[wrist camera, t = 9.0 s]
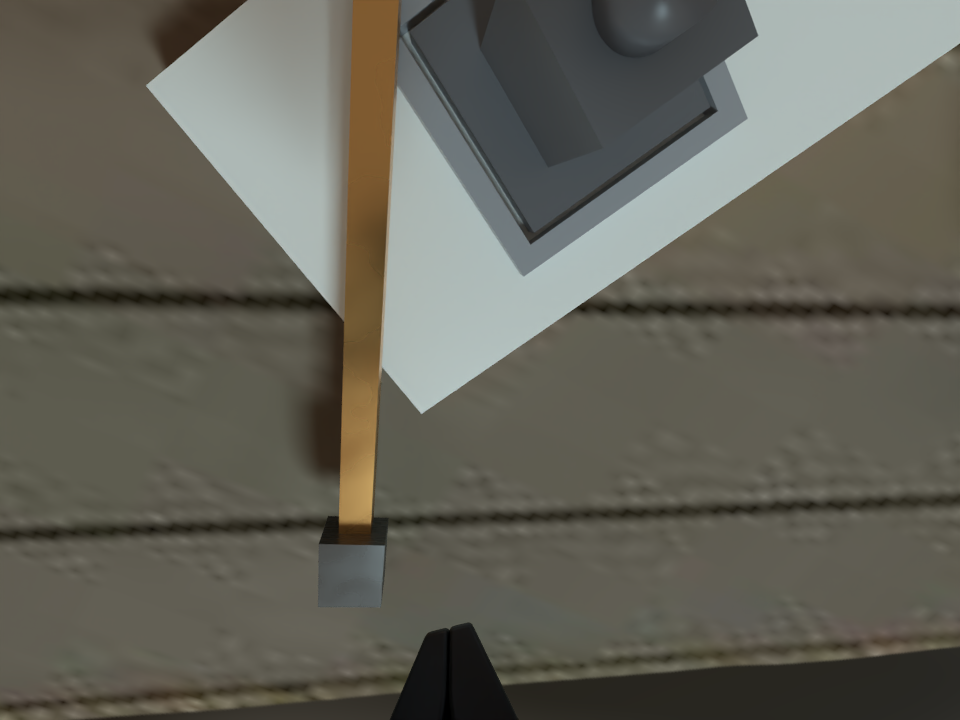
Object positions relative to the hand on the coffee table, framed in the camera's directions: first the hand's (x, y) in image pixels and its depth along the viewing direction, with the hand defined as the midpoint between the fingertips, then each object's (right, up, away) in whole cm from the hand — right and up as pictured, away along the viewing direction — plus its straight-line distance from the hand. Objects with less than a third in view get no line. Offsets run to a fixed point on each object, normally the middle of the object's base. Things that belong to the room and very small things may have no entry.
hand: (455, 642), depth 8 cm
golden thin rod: (-4, +7, +7) cm, 11 cm away
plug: (+3, +15, +7) cm, 16 cm away
